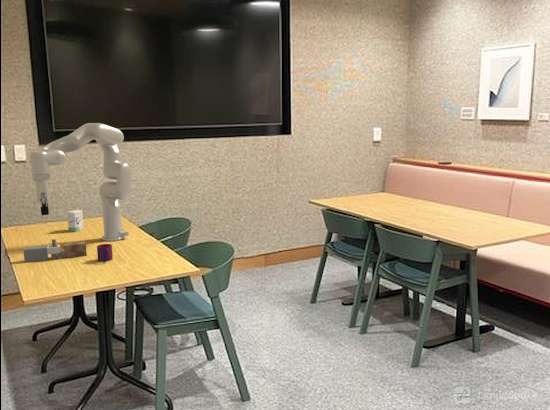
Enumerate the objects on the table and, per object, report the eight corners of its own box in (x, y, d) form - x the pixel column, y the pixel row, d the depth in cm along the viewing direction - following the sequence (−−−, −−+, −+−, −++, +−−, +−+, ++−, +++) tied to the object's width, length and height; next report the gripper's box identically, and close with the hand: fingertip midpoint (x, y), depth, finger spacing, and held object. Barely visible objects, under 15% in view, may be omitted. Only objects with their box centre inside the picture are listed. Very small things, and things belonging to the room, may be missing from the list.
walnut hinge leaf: (86, 253, 258) (84, 235, 256) (86, 255, 254) (85, 237, 252) (51, 257, 251) (49, 239, 250) (51, 259, 248) (49, 240, 246)
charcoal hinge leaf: (24, 262, 243) (23, 250, 242) (25, 259, 248) (24, 247, 247) (60, 259, 248) (59, 246, 247) (60, 256, 254) (59, 244, 253)
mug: (111, 257, 251) (110, 243, 250) (114, 262, 242) (113, 247, 241) (97, 258, 248) (96, 244, 247) (99, 264, 239) (98, 249, 238)
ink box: (76, 228, 316) (75, 209, 314) (84, 229, 315) (82, 209, 313) (68, 231, 308) (66, 212, 306) (76, 232, 306) (74, 212, 304)
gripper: (32, 175, 252) (36, 210, 255) (32, 180, 236) (36, 217, 240) (49, 174, 255) (53, 209, 258) (50, 179, 239) (54, 215, 243)
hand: (45, 212), depth 249 cm, fingers open, 9 cm apart
